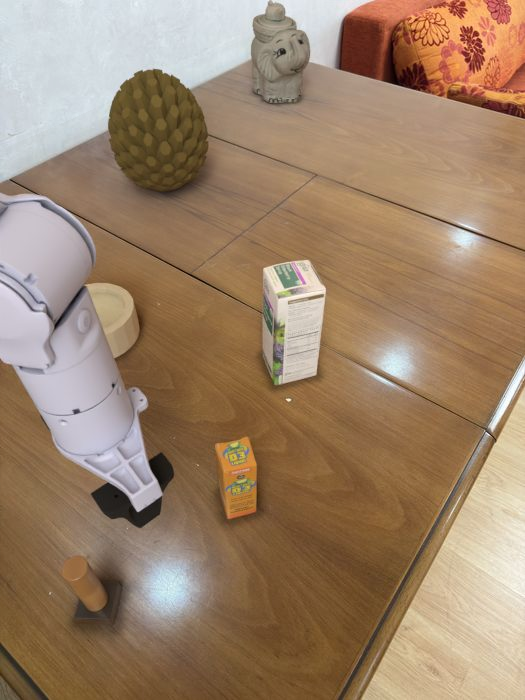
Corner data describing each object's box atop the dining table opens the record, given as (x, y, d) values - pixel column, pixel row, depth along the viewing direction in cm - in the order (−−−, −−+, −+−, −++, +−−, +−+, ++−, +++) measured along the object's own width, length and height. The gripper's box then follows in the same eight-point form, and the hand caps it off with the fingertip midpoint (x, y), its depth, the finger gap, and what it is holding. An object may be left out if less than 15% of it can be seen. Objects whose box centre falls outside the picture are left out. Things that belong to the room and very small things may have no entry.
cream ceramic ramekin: (41, 349, 71) (30, 325, 68) (89, 299, 78) (82, 275, 74) (110, 373, 68) (102, 348, 65) (154, 318, 75) (149, 294, 72)
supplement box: (227, 523, 54) (220, 472, 47) (219, 493, 56) (212, 440, 49) (258, 514, 55) (257, 463, 47) (250, 485, 57) (247, 432, 50)
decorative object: (215, 163, 105) (207, 53, 90) (207, 211, 93) (195, 92, 79) (130, 163, 105) (108, 52, 91) (111, 210, 94) (82, 92, 79)
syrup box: (261, 354, 70) (259, 266, 59) (303, 344, 71) (309, 256, 61) (274, 387, 66) (275, 299, 56) (319, 376, 67) (328, 287, 57)
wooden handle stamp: (78, 623, 48) (48, 587, 41) (88, 586, 50) (61, 546, 43) (113, 625, 48) (89, 589, 41) (122, 588, 50) (99, 548, 43)
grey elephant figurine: (302, 115, 120) (306, 20, 106) (238, 108, 123) (234, 14, 109) (317, 87, 131) (323, -3, 117) (258, 81, 134) (257, -7, 120)
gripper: (185, 415, 33) (212, 517, 43) (82, 301, 41) (125, 409, 51) (80, 482, 30) (136, 575, 40) (-8, 345, 38) (56, 450, 48)
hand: (125, 485), depth 45 cm, fingers open, 7 cm apart
